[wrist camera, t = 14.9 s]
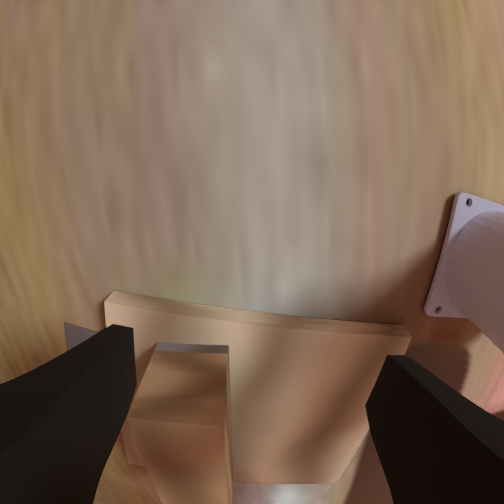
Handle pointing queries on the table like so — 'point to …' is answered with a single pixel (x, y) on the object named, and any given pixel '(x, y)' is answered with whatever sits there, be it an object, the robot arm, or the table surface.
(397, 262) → the table surface
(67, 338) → the charcoal chip
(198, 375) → the block
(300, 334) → the birch board
